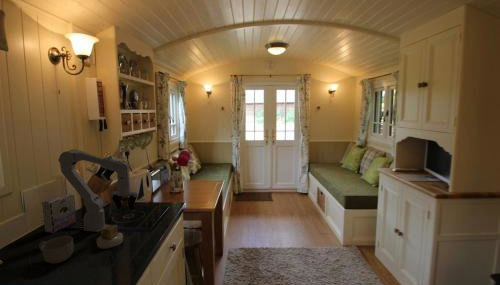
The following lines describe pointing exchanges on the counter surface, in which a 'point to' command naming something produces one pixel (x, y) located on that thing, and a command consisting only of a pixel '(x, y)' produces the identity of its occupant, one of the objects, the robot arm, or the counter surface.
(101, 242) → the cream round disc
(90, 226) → the robot arm
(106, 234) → the oak cube
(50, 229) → the candy box
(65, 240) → the teacup
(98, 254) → the counter surface
